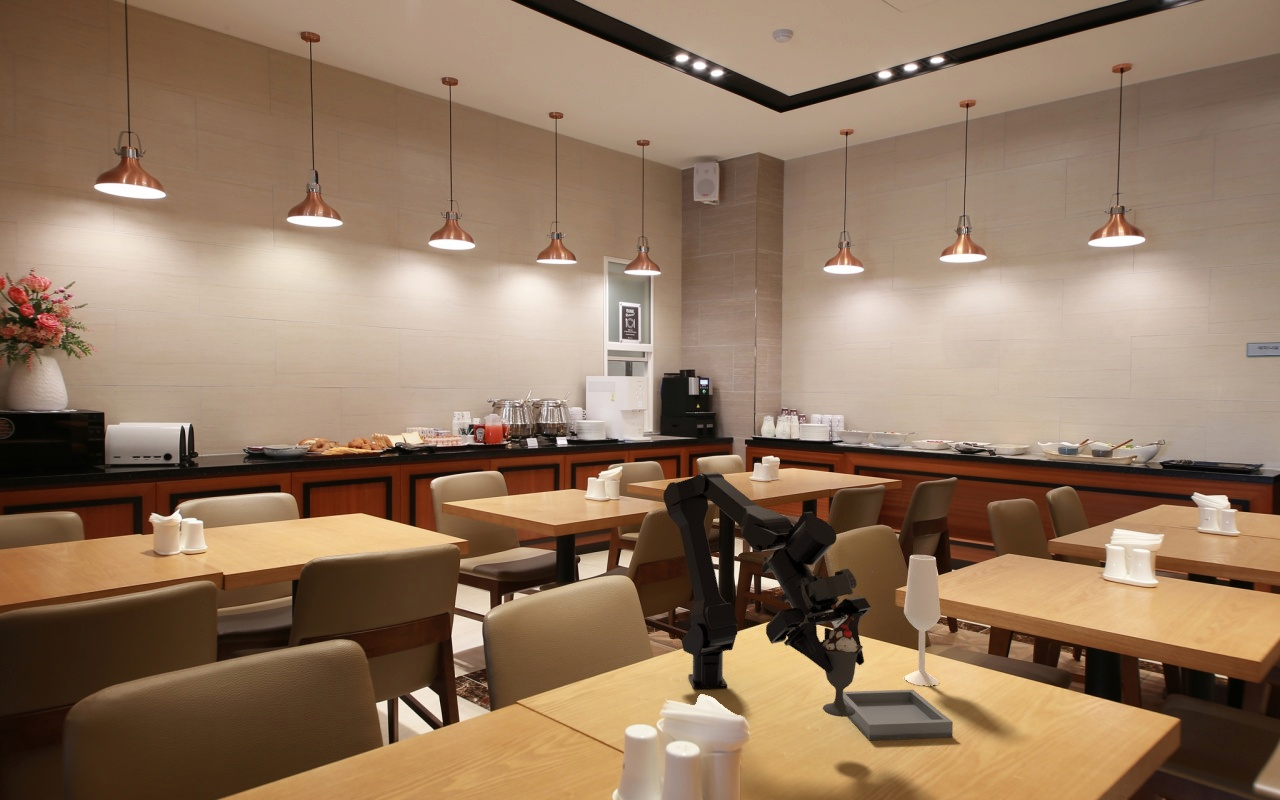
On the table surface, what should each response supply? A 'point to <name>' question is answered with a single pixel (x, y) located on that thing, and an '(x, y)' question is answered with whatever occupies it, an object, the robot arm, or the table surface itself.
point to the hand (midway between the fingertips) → (846, 667)
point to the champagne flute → (922, 608)
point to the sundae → (840, 666)
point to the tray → (896, 715)
